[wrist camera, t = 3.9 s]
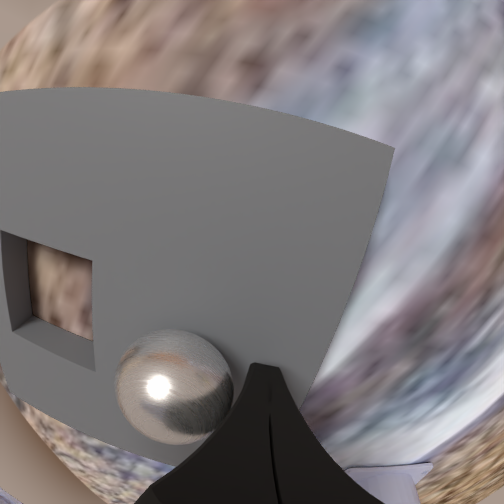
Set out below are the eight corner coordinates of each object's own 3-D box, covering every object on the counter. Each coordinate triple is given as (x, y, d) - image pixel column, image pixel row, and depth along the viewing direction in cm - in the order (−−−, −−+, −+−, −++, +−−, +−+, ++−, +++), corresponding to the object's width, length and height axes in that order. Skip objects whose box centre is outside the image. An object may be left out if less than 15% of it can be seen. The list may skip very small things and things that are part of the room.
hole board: (259, 458, 16) (258, 483, 14) (25, 376, 15) (10, 392, 14) (374, 149, 10) (395, 147, 8) (15, 96, 10) (-11, 93, 8)
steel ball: (229, 401, 12) (213, 478, 8) (139, 374, 12) (100, 441, 8) (250, 324, 10) (237, 406, 7) (143, 295, 10) (87, 357, 7)
